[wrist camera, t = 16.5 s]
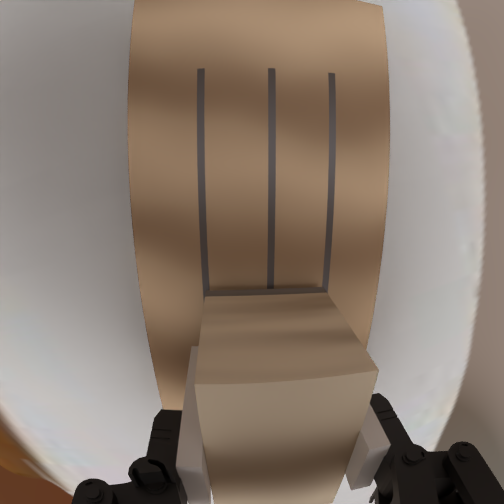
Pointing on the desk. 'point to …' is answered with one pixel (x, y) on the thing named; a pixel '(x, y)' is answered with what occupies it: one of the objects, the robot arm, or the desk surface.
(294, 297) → the block
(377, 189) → the board
